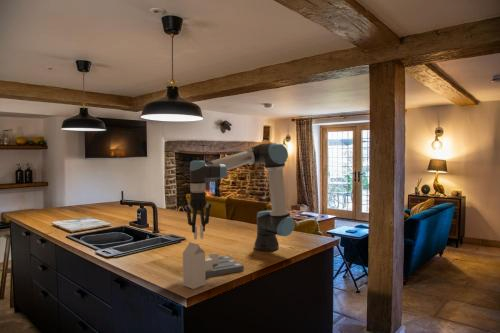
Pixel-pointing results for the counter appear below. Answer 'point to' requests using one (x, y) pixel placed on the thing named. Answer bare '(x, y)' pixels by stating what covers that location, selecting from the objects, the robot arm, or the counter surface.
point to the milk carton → (193, 266)
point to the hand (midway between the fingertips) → (198, 238)
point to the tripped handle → (214, 257)
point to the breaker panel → (222, 266)
